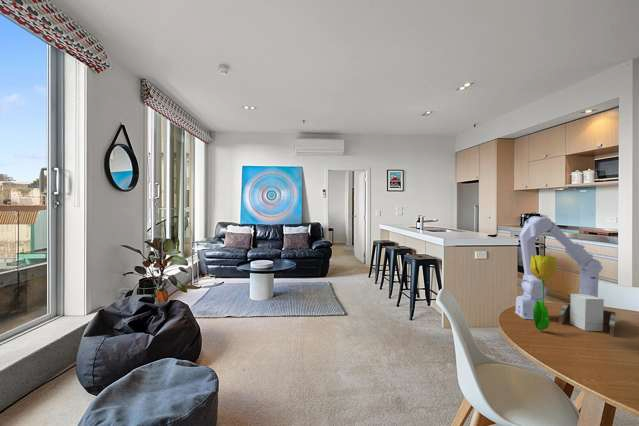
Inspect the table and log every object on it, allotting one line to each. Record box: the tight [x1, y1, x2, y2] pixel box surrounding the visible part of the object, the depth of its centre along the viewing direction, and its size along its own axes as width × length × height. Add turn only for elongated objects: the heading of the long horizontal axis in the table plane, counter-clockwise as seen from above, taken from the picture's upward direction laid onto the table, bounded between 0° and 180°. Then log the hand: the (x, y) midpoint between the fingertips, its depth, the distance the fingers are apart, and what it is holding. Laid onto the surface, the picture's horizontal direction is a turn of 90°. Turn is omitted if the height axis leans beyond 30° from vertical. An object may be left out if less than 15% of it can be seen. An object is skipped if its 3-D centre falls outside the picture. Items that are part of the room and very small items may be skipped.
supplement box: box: [569, 293, 605, 332], centre depth 120 cm, size 7×7×13 cm
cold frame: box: [558, 302, 617, 337], centre depth 123 cm, size 17×16×5 cm
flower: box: [530, 254, 557, 332], centre depth 115 cm, size 9×8×30 cm
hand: (587, 318), depth 125 cm, fingers closed
